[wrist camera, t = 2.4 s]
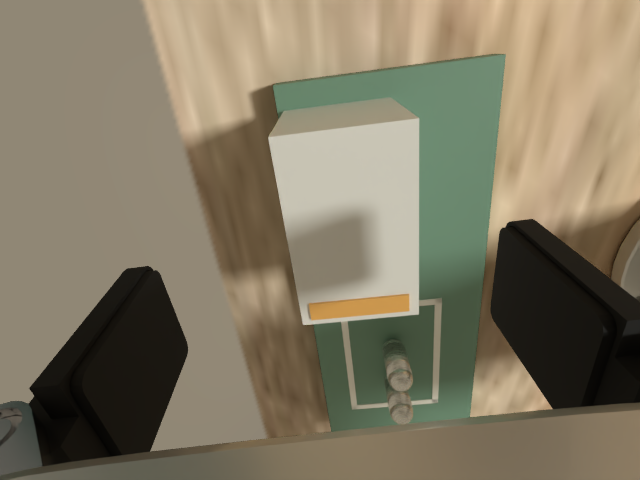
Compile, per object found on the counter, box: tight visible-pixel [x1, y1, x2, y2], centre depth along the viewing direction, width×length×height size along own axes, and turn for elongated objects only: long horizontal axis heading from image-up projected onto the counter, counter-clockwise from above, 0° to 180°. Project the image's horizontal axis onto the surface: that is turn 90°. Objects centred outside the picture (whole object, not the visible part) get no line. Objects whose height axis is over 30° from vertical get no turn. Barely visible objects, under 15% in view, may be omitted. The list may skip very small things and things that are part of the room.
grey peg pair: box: [382, 339, 413, 424], centre depth 22 cm, size 4×1×4 cm, turn 7°
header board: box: [273, 54, 506, 432], centre depth 22 cm, size 24×10×1 cm, turn 7°
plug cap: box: [268, 97, 419, 325], centre depth 16 cm, size 8×5×6 cm, turn 7°
